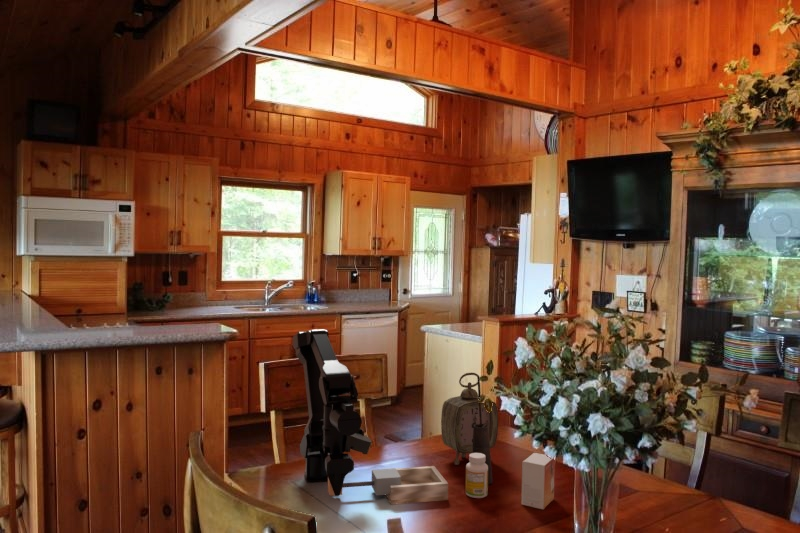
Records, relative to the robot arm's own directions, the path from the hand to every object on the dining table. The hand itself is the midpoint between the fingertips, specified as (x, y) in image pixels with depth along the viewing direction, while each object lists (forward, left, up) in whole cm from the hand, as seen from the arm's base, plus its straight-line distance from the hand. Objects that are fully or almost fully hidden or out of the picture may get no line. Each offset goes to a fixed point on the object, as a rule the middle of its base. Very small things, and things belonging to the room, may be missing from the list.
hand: (334, 488), depth 151 cm
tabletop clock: (+40, +20, -3) cm, 45 cm away
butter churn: (+39, +4, -3) cm, 40 cm away
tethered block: (+7, 0, -1) cm, 7 cm away
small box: (+47, -11, -3) cm, 49 cm away
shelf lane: (+19, 0, -2) cm, 20 cm away
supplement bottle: (+34, -4, -3) cm, 35 cm away
